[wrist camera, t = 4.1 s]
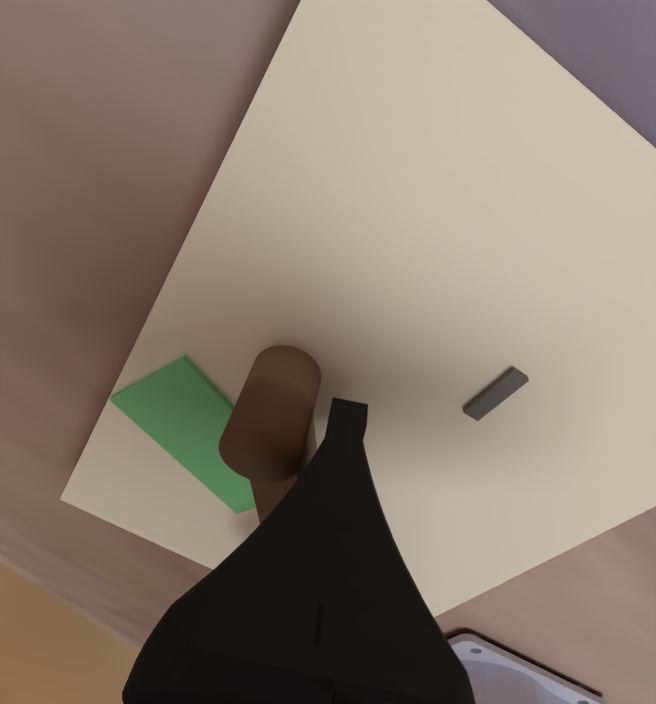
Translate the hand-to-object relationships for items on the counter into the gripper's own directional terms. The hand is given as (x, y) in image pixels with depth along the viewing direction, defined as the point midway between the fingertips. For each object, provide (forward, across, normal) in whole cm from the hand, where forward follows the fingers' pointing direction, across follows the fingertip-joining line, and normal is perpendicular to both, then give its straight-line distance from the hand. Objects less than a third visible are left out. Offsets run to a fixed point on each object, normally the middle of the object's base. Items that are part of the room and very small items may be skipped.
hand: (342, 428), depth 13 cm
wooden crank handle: (+1, +1, +3) cm, 3 cm away
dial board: (+3, -1, +2) cm, 3 cm away
